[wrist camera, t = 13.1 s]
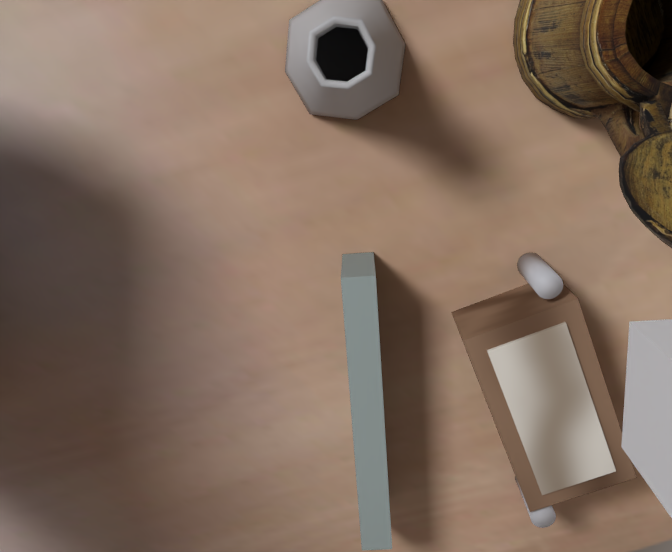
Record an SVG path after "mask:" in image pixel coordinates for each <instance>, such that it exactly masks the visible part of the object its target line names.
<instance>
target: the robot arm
mask: <svg viewBox="0 0 672 552" xmlns="http://www.w3.org/2000/svg"><path fill="white" fill-rule="evenodd" d="M621 447H622V449H623V450H624V451H625V453H626V454H627V456H628V457H629V458H630V460H631V461H632V463H633V464H634V466H635V467H636V468H637V470H638V471H639V473H640V474H641V475H642V477H643V478H644V480H645V481H646V483H647V484H648V485H649V487H650V488H651V490H652V491H653V492H654V494H655V495H656V497H657V498H658V499H659V501H660V502H661V504H662V505H663V507H664V508H665V509H666V511H667V512H668V514H669V515H670V516H671V518H672V320H671V319H666V320H649V321H632V322H630V323H629V338H628V353H627V369H626V384H625V399H624V414H623V429H622V445H621Z"/></svg>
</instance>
